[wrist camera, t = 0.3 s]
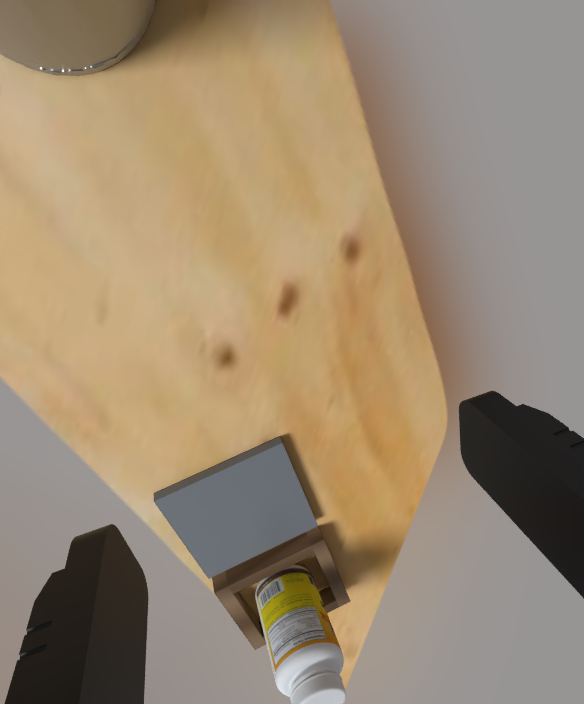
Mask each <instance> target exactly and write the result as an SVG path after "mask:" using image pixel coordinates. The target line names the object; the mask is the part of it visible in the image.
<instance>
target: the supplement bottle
mask: <svg viewBox="0 0 584 704" xmlns="http://www.w3.org/2000/svg"><path fill="white" fill-rule="evenodd" d="M255 598H256V603H257V607H258V611H259V616H260V620H261V624H262V628H263V633H264V637H265V641H266V645H267V649H268V653H269V657H270V662H271V666H272V670H273V674H274V679H275V682H276V685H277V688H278V689H279V691H280V692H281V693H283V694H284V695H286V696H289V697H290V698H291V703H292V704H343V703H344V701H345V699H346V692H345V689H344V686H343V683H342V678H341V676H340V675H339V674H340V672H341V670H342V668H343V663H344V658H343V654H342V651H341V648H340V646H339V643H338V641H337V638H336V635H335V633H334V630H333V628H332V625H331V622H330V620H329V617H328V615H327V612H326V609H325V607H324V604H323V602H322V599H321V597H320V594H319V591H318V589H317V586H316V583H315V581H314V579H313V576H312V574H311V573H310V571H309V570H308V569H306V568H305V567H303V566H300V565H291V566H289V567H287V568H285V569H283V570H281V571H279V572H277V573H275V574H273V575H271V576H269V577H267V578H265V579H263V580H261V581H260V582H259V584H258V586H257V588H256V593H255Z"/></svg>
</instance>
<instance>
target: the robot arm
mask: <svg viewBox="0 0 584 704" xmlns="http://www.w3.org/2000/svg"><path fill="white" fill-rule="evenodd" d="M155 2H156V0H0V54H1V55H3V56H5V57H7V58H9V59H11V60H13V61H15V62H17V63H20V64H22V65H24V66H26V67H28V68H30V69H34V70H38V71H41V72H45V73H49V74H53V75H68V76H80V75H85V74H90V73H95V72H100V71H102V70H104V69H106V68H108V67H110V66H112V65H114V64H116V63H118V62H119V61H120V60H121V59H123V58H124V57H125V56H126V55H127V54H128V53H129V52H131V51H132V50H133V49H134V48H135V46H136V45H137V43H138V42H139V40H140V39H141V37H142V36H143V34H144V33H145V31H146V30H147V27H148V24H149V22H150V19H151V16H152V14H153V11H154V9H155ZM459 421H460V445H461V455H462V459H463V461H464V464H465V466H466V468H467V470H468V471H469V473H470V474H471V476H472V477H473V478H474V479H475V480H476V481H477V482H478V484H480V486H481V487H482V488H483V489H484V490H485V491H486V492H487V493H488V494H489V495H490V497H491V498H492V499H493V500H494V501H495V502H496V503H497V504H498V505H499V506H500V508H502V510H503V511H504V512H505V513H506V514H507V515H508V516H509V517H510V518H511V519H512V521H513V522H514V523H515V524H516V525H517V526H518V527H519V528H520V529H521V530H522V532H523V533H524V534H525V535H526V536H527V537H528V538H529V539H530V540H531V541H532V542H533V544H535V546H536V547H537V548H538V549H539V550H540V551H541V552H542V553H543V554H544V555H545V557H546V558H547V559H548V560H549V561H550V562H551V563H552V564H553V565H554V566H555V567H556V569H557V570H558V571H559V572H560V573H561V574H562V575H563V576H564V577H565V578H566V579H567V580H568V582H569V583H570V584H571V585H572V586H573V587H574V588H575V589H576V590H577V591H578V592H579V593H580V595H581V596H582V597H583V598H584V438H582V437H581V436H580V435H578V434H577V433H575V432H574V431H570V430H569V428H568V427H567V426H565V425H564V424H563V423H561V422H560V421H558V420H557V419H556V418H554V417H553V416H551V415H550V414H548V413H546V412H543V411H540V410H538V409H535V408H532V407H530V406H527V405H524V404H522V405H519V406H515V405H514V404H512V403H511V402H510V401H508V400H507V399H506V398H504V397H503V396H501V395H500V394H499V393H497V392H495V391H490V392H487V393H484V394H481V395H479V396H476V397H473V398H470V399H467V400H464V401H462V402H461V403H460V405H459ZM147 614H148V589H147V583H146V579H145V575H144V573H143V570H142V568H141V566H140V565H139V563H138V561H137V560H136V558H135V557H134V555H133V553H132V551H131V550H130V548H129V546H128V545H127V543H126V541H125V540H124V538H123V536H122V535H121V533H120V531H119V530H118V528H117V527H116V526H115V525H113V524H111V525H108V526H105V527H102V528H99V529H96V530H94V531H91V532H88V533H85V534H82V535H80V536H77V537H75V538H74V539H73V540H72V542H71V545H70V549H69V553H68V558H67V562H66V566H65V569H62V570H60V571H57V572H54V573H52V574H51V576H50V578H49V579H48V581H47V582H46V584H45V586H44V587H43V589H42V590H41V592H40V594H39V595H38V597H37V598H36V600H35V602H34V605H33V608H32V612H31V616H30V619H29V622H28V626H27V635H25V636H24V640H23V643H22V646H21V650H20V653H19V655H20V660H18V661H17V663H16V667H15V670H14V674H13V677H12V680H11V684H10V687H9V691H8V694H7V698H6V701H5V704H144V685H145V661H146V639H147V616H148V615H147Z"/></svg>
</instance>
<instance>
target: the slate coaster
mask: <svg viewBox="0 0 584 704" xmlns="http://www.w3.org/2000/svg"><path fill="white" fill-rule="evenodd" d="M154 502H155V504H156V505H157V507H158V508H159V509H160V511H161V512H162V514H163V515H164V516H165V518H166V519H167V521H168V522H169V523H170V525H171V526H172V528H173V529H174V531H175V532H176V533H177V535H178V536H179V538H180V539H181V540H182V542H183V543H184V545H185V546H186V548H187V549H188V550H189V552H190V553H191V555H192V556H193V557H194V559H195V560H196V562H197V563H198V565H199V566H200V567H201V569H202V570H203V572H204V573H205V574H206V576H207V577H208V579H209V578H212V577H214V576H216V575H218V574H220V573H222V572H224V571H226V570H228V569H230V568H232V567H234V566H236V565H238V564H240V563H243V562H245V561H247V560H249V559H251V558H253V557H255V556H257V555H259V554H261V553H263V552H265V551H267V550H269V549H271V548H274V547H276V546H278V545H280V544H282V543H284V542H286V541H288V540H290V539H292V538H294V537H296V536H298V535H300V534H302V533H305V532H307V531H309V530H311V529H313V528H315V527H317V526H318V525H317V522H316V520H315V518H314V515H313V513H312V511H311V508H310V506H309V504H308V501H307V499H306V497H305V494H304V492H303V490H302V487H301V485H300V483H299V480H298V478H297V476H296V473H295V471H294V469H293V466H292V464H291V462H290V459H289V457H288V455H287V452H286V450H285V448H284V445H283V443H282V441H281V438H280V436H279V437H277V438H275V439H273V440H271V441H268V442H266V443H264V444H262V445H260V446H257V447H255V448H253V449H251V450H249V451H246V452H244V453H242V454H240V455H238V456H235V457H233V458H231V459H229V460H227V461H224V462H222V463H220V464H218V465H216V466H213V467H211V468H209V469H207V470H205V471H202V472H200V473H198V474H196V475H194V476H191V477H189V478H187V479H185V480H183V481H180V482H178V483H176V484H174V485H172V486H169V487H167V488H165V489H163V490H161V491H158V492H156V493H154Z"/></svg>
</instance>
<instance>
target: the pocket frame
mask: <svg viewBox="0 0 584 704" xmlns="http://www.w3.org/2000/svg"><path fill="white" fill-rule="evenodd" d="M314 554H315V555H316V557H317V560H318V562H319V564H320V566H321V568H322V570H323V573H324V575H325V577H326V579H327V581H328V583H329V586H330V587H328V588H326V589H324V590H322V591H320V592H319V594H320V597H321V599H322V602H323V604H324V607H325V609H326V612H327V613H328V612H330V611H332V610H334V609H336V608H338V607H340V606H342V605H344V604H346V603H348V602H350V599H349V597H348V594H347V592H346V590H345V587H344V585H343V583H342V580H341V578H340V576H339V573H338V571H337V569H336V566H335V564H334V562H333V559H332V557H331V555H330V552H329V550H328V548H327V545H326V543H325V541H324V538H323V536H322V534H321V532H320V529H319V527H318V526H317V527H315V528H313V529H311V530H309V531H307V532H305V533H302V534H300V535H298V536H296V537H294V538H292V539H290V540H288V541H286V542H284V543H282V544H280V545H278V546H276V547H274V548H271V549H269V550H267V551H265V552H263V553H261V554H259V555H257V556H255V557H253V558H251V559H249V560H247V561H245V562H243V563H240V564H238V565H236V566H234V567H232V568H230V569H228V570H226V571H224V572H222V573H220V574H218V575H216V576H214V577H212V580H213V587H214V593H215V595H216V596H217V597H218V599H219V600H220V602H221V603H222V604H223V606H224V607H225V608H226V610H227V611H228V613H229V614H230V615H231V617H232V618H233V620H234V621H235V622H236V624H237V625H238V627H239V628H240V629H241V631H242V632H243V633H244V635H245V636H246V638H247V639H248V641H249V642H250V643H251V645H252V646H253V648H254V649H255V650H256V649H257V648H260V647H262V646H263V645H265V644H266V641H265V637H264V633H263V628H262V624H261V621H260V622H259V621H258V620H257V618H256V617H255V615H254V614H253V612H252V611H251V609H250V608H249V606H248V605H247V603H246V602H245V600H244V599H243V597H242V596H241V594H240V593H239V591H241V590H243V589H245V588H247V587H249V586H251V585H253V584H255V583H257V582H259V581H261V580H263V579H265V578H267V577H269V576H271V575H273V574H275V573H277V572H279V571H281V570H283V569H285V568H287V567H289V566H291V565H293V564H296V563H298V562H300V561H302V560H304V559H306V558H308V557H310V556H312V555H314Z"/></svg>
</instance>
